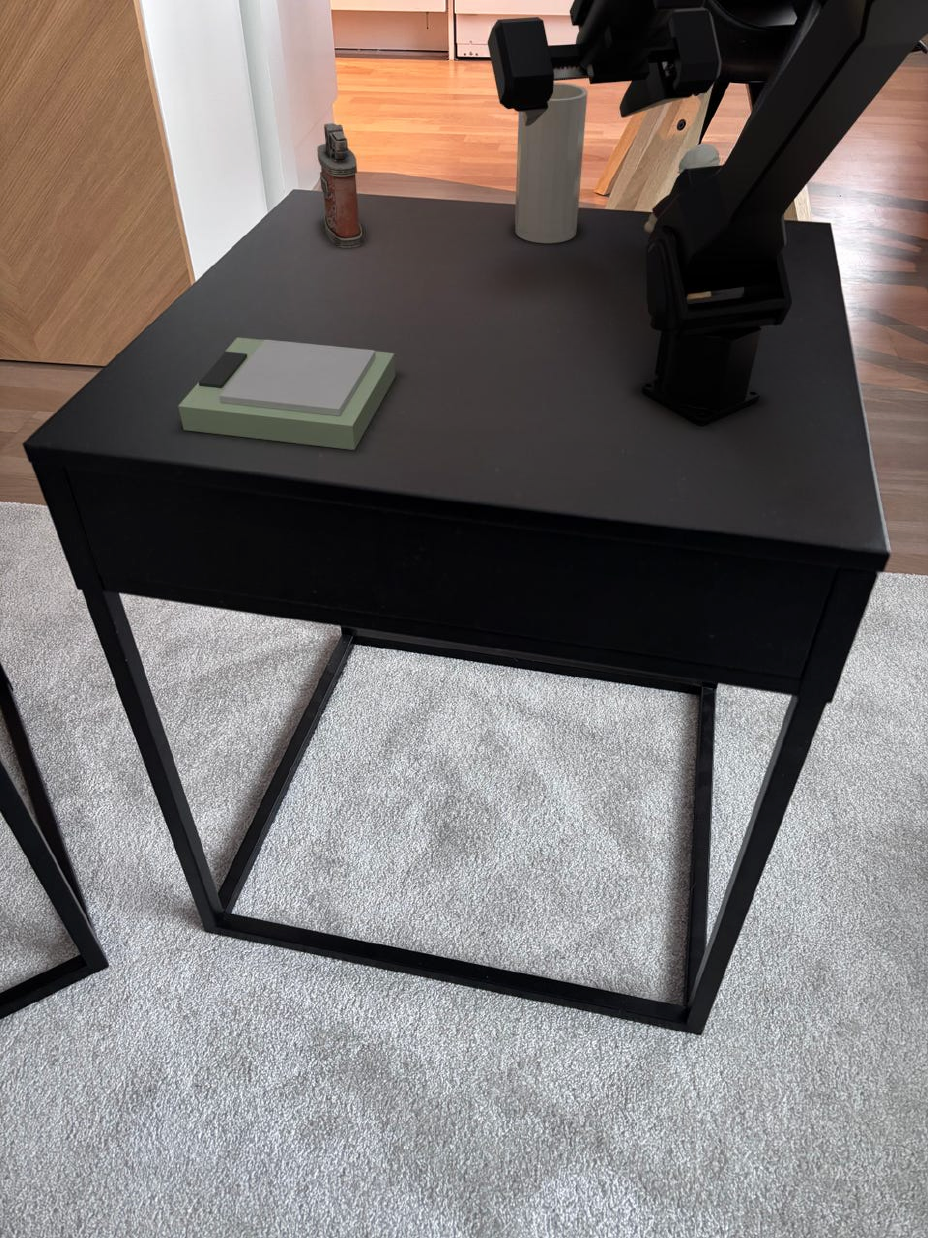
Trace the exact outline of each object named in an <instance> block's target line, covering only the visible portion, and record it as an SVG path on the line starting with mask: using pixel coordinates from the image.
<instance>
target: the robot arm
mask: <svg viewBox="0 0 928 1238" xmlns="http://www.w3.org/2000/svg"><path fill="white" fill-rule="evenodd" d="M704 5H705V0H573V2H572V4H571V6H570V9H569V17H570V21H571V22H570V23H571V26H572V27H577V28H578V32H577V35H576V39H575V43H570V44H568V43H567V44H554V45H553V44H552V45H549V42H548V41H549V40H548V37H547V33H546V27H545V21H544V20H543V19H542V18H540V17H539V16H534V17H533V16H532V17H518V18H517V17H516V18H515V17H514V18H502V19H501V18H500V19H499V18H498V19H497V20H496V22H495V23H494V25H493V26H492V28H491V30H490V33H489V36H488V38H487V47H488V53H489V58H490V62H491V66H492V72H493V78H494V83H495V87H496V92H497V97H498V102H499V104H500V105H501V106H502V107H504V108H505V109H507V110H513V111H515V112H517V113H519V112H523V118H524V123H525V126H530V125H531V124H533V123H534V122H535V121H536V120H537V119H538V118H539V117H540V116H541V115H542V114H543V113H544V112H545V111H546V110H547V109H548V102H547V101H549V100H550V98H551V96H552V94H553V86H554V83H555V82H557V81H558V82H559V81H570V80H584V79H585V80H586V79H588V81H589V82H588V83H589V85H600V84H601V85H602V84H612V83H624V82H630V84H629V85H628V87H627V89H626V91H625V92H624V94H623V96H622V99H621V102H620V103H619V113H620V117H621V118H623V119H624V118H628V117H631V116H634V115H636V114H640V113H643V112H645V111H648V110H650V109H654V108H656V107H661V106H663V105H666V104H669V103H673V102H676V101H679V100H683V99H689V98H691V97H692V96H693V95H698V94H707V93H708V92H709V90H710V89H711V88H712V86H713V85H714V84H715V83H716V81H717V80H718V78H719V77H720V75H721V71H722V64H723V62H722V58H721V53H720V47H719V42H718V38H717V33H716V28H715V24H714V17H713V15H712V14H711V12H710V10H709V9H707V8H705V7H704ZM818 13H819V14H818V15H817V16H816V18H815V19H814V21H813V23H812V25H811V26H810V28H809V29H808V30H807V32H806V33H805V36H804V37H803V39H802V40H801V42H800V43H799V45H798V47H797V48H796V50H795V51H794V53H793V54H792V56H791V58H790V59H789V61H788V62H787V64H786V65H785V67H784V69H783V70H782V72H781V73H780V75H779V76H778V78H777V79H776V81H775V82H774V84H773V86H772V87H771V89H770V91H769V92H768V93H767V95H766V97H765V98H764V100H763V102H761V104H760V106H759V108H758V109H757V111H756V112H755V114H754V116H753V117H752V118H751V120H750V122H749V123H748V125H747V127H746V128H745V129H744V131H743V133H742V135H741V136H740V137H739V139H738V141H737V142H736V144H735V146H734V147H733V149H732V150H731V152H730V153H729V155H728V157H727V158H726V160H725V161H724V163H723V164H719V166H708V167H698V168H688V169H685V170H684V171H683V172H682V173H681V174H679V175H678V176H676V178H675V181H674V182H673V184H672V187H671V189H670V191H669V194H668V195H669V196H668V197H667V198H666V200H665V201H664V202H662V203H661V204H659V210H660V211H661V212H662V214H661V215H660V216H659V218H658V220H657V221H656V223H655V226H654V228H653V231H652V232H651V233H649V236H648V239H647V244H646V246H645V275H646V276H645V277H646V278H645V279H646V281H645V283H646V304H647V313H648V315H649V316H650V324H649V326H650V327H651V328H652V329H653V330H654V331H660V336H659V341H658V350H657V356H656V363H655V369H654V375H655V376H656V378H653V379H650V380H648V381H646V382H643V383H642V385H641V391H642V392H643V393H644V394H646V395H647V396H648V397H651V398H652V399H654V400H656V401H658V402H660V403H661V404H663V405H665V406H667V407H668V408H670V409H672V410H674V411H675V412H677V413H678V414H681V415H682V416H684V417H685V418H687V419H689V420H691V421H693V422H694V423H696V424H699V425H705V424H709V423H710V422H712V421H714V420H717V419H719V418H721V417H724V416H726V415H728V414H731V413H733V412H735V411H737V410H740V409H742V408H744V407H747V406H749V405H751V404H753V403H756V402H758V401H759V398H760V395H761V394H760V392H759V391H757V390H755V389H754V388H751V387H749V386H750V382H751V378H752V373H753V368H754V365H755V360H756V355H757V351H758V346H759V341H760V337H761V332H762V327H766V326H774V327H775V326H782V324H783V323H784V321H785V319H786V317H787V316H788V313H789V311H790V310H791V307H792V305H793V298H792V294H791V289H790V284H789V280H788V276H787V271H786V266H785V262H784V257H783V253H782V251H783V249H784V248H785V247H786V244H787V233H786V232H787V231H786V224H785V213H786V211H787V210H788V208H789V207H790V206H791V205H792V203H793V202H794V201H795V200H796V199H797V197H798V196H799V195H800V193H801V192H802V191H803V189H804V188H805V187H806V186H807V184H808V183H809V182H810V180H811V179H812V178H813V177H814V175H815V174H816V173H817V172H818V170H819V169H820V168H821V166H823V164H824V163H825V161H826V160H827V159H828V158H829V156H830V155H831V154H832V152H833V151H834V150H835V149H836V147H838V145H839V143H840V142H841V141H842V140H843V138H844V137H845V136H846V135H847V133H848V132H849V131H850V130H851V128H852V127H853V126H854V125H855V123H856V122H857V120H858V119H860V117H861V115H863V113H864V112H865V110H866V109H867V108H868V106H869V105H870V104H871V103H872V101H873V100H874V99H875V98H876V96H877V95H878V94H879V93H880V91H881V90H882V89H883V88H884V86H886V84H887V82H888V81H890V78H891V77H892V76H893V75H894V74H895V72H896V71H897V70H898V69H899V67H900V66H901V65H902V63H903V62H904V61H905V60H906V58H907V57H908V56H909V55H910V53H911V52H912V51H913V50H914V48H915V47H916V46H917V44H918V43H919V42H920V41H921V40H923V39H924V38H925V37H926V36H927V35H928V0H827V1H826V2H825V3H824V6H823V7H822V9H821V10H820V12H818ZM740 288H743V291H742V292H741V291H740V292H733V293H725V294H717V295H711V296H710V297H702V298H694V299H687V296H688V294H694V293H702V292H716V291H717V292H718V291H724V290H731V289H732V290H733V289H740Z"/></svg>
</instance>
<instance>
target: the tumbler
mask: <svg viewBox="0 0 928 1238" xmlns="http://www.w3.org/2000/svg"><path fill="white" fill-rule="evenodd" d="M588 93H589V91H588V90H587V89H586V88H585V87H583V86H580V85H578V84H573V83H567V82H554V86H553V94H552V96H551V98H550V100H549V101H547V102H548V109H547V110H546V111H545V112H544V113H543V114H542V115H541V116H540V117H539V118H538V119H537V120H536V121H535V122H534V123H533V124H531V125H530V126H525V123H524V118H523V112H518V119H517V120H518V121H517V122H518V123H517V124H518V125H517V149H516V150H517V151H516V178H515V179H516V180H515V181H516V182H515V207H514V210H515V211H514V212H515V213H514V225H515V226H514V233H515V234H516V236H517V237H519V238H520V239H523V240H525V241H528V242H532V243H536V244H557V243H558V244H559V243H563V242H567V241H570V240H571V239H573V238H575V236H576V235H577V232H578V231H577V230H578V223H579V222H578V221H579V209H580V196H581V195H580V194H581V183H582V169H583V158H584V157H583V156H584V143H585V129H586V117H587V105H588Z"/></svg>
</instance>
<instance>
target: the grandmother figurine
mask: <svg viewBox="0 0 928 1238" xmlns="http://www.w3.org/2000/svg"><path fill="white" fill-rule="evenodd" d="M720 158H721V157H720V153H719V150H718V149H717V148H716V146H714V145H712V144H707V143H700V144H695V145H694V146H692V147H690V148H689V150H687V151H686V153H684V155H683V157H682V158H681V159H680V161H679V164H678V171H677V172H676V173H677V174H679V175H680V174H681V173H682V172H683V171H684V170H685V169H688V168H698V167H708V166H719V165H720V162H721V159H720ZM668 196H669V194H668V195H666V196H665V197H663V198H662V199H661V200H660V201H658V202H657V204H655V206H653V207H652V208H651V211H652V212H651V214H650V215H649V217H648V220H647V221H646V222H645V223H644V226H643V229H644V232H646V233H647V234H651V232H652V231H653V228H654V226H655V223H656V221H657V220H658V218H659V216H660V215H661V214H662V212H661V211H660V210H659V204H661V203H662V202H664V201H665V200H666V198H667V197H668ZM710 296H712V291H710V292H702V293H694V294H687V295H686V300H687V299H694V298H702V297H710Z"/></svg>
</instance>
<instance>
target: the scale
mask: <svg viewBox="0 0 928 1238" xmlns="http://www.w3.org/2000/svg"><path fill="white" fill-rule="evenodd" d="M395 359H396V358H395V353H394V352H386V351H377V350H374V349H364V348H354V347H346V346H334V345H323V344H314V343H304V342H295V341H294V342H293V341H286V340H285V341H283V340H274V339H256V338H246V337H236V338H235V339H234V340H233V342H232V343H231V344H230V345H229V346H228V348H227V349H226V350H225V351H224V352H223V353H222V354H221V355H220V357H219V358H218V359H217V360H216V361H215V363H214V364H213V365H212V366H211V367H210V368H209V369H208V371H206V373H205V374H204V375H203V376H202V378H201V379H200V380H199V381H198V382H197V383H196V385H195V386H194V387H193V388H192V389H191V390H190V392H188V394H187V395H186V396H185V397H184V398H183V400H182V401H181V402H180V403H179V404H178V405H177V407H178V411H179V415H180V420H181V424H182V429H183V431H189V432H197V433H206V434H213V435H222V436H229V437H239V438H247V439H257V440H264V441H274V442H283V443H290V444H299V445H307V446H317V447H324V448H334V449H341V450H350V451H355V450H356V448H358V445H359V443H360V441H361V440H362V438H363V436H364V435H365V432H366V431H367V429H368V427H369V425H370V423H371V421H372V419H373V417H374V416H375V414H376V413H377V410H378V409H379V408H380V405H381V404H382V401H383V400H384V398H385V396H386V394H387V392H388V390H389V389H390V387H391V386H392V383H393V381H394V380H395V378H396V361H395Z"/></svg>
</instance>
